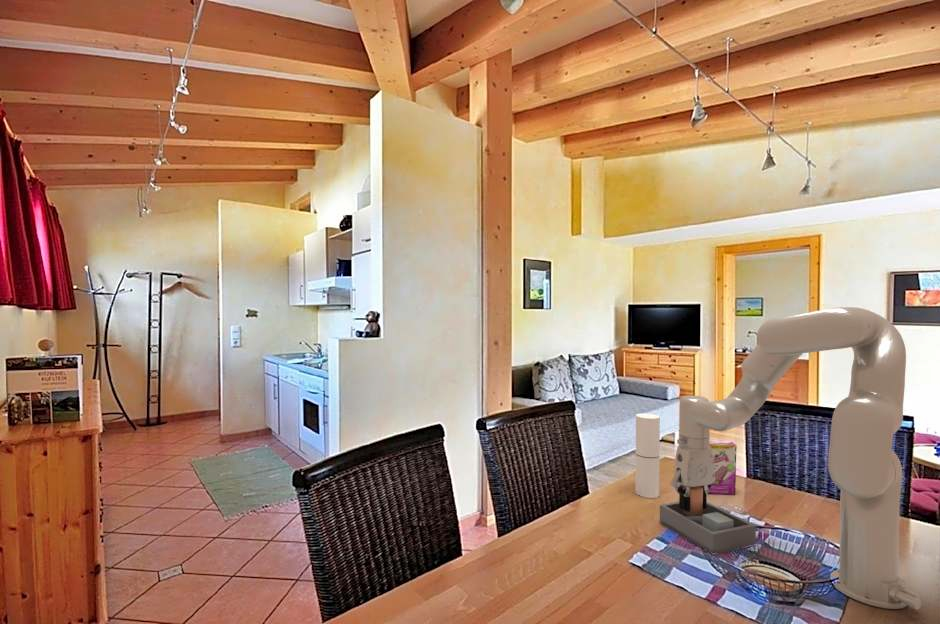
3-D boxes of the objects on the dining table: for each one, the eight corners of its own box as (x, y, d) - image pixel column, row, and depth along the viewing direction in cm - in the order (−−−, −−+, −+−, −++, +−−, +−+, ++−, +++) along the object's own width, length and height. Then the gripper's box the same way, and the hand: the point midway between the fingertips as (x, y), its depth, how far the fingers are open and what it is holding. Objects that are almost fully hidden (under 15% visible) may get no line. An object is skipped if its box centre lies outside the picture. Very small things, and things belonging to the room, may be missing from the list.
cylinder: (706, 514, 127) (707, 488, 127) (692, 517, 125) (692, 491, 125) (692, 507, 132) (692, 482, 132) (678, 509, 130) (678, 484, 130)
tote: (755, 545, 118) (755, 525, 118) (712, 554, 114) (713, 534, 114) (698, 515, 135) (699, 498, 135) (659, 522, 131) (659, 504, 131)
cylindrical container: (635, 496, 149) (636, 417, 149) (634, 488, 156) (635, 412, 156) (660, 499, 147) (660, 419, 147) (658, 490, 154) (658, 414, 153)
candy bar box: (700, 494, 151) (700, 443, 151) (694, 488, 156) (694, 438, 156) (736, 495, 150) (737, 444, 150) (729, 489, 155) (730, 439, 155)
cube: (733, 539, 119) (733, 520, 119) (718, 542, 118) (718, 522, 118) (717, 530, 124) (717, 511, 124) (702, 533, 122) (702, 514, 122)
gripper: (679, 448, 122) (678, 518, 122) (729, 442, 127) (728, 509, 128) (658, 440, 129) (657, 506, 129) (706, 435, 135) (705, 498, 135)
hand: (692, 507), depth 128 cm, fingers closed on cylinder, 4 cm apart
